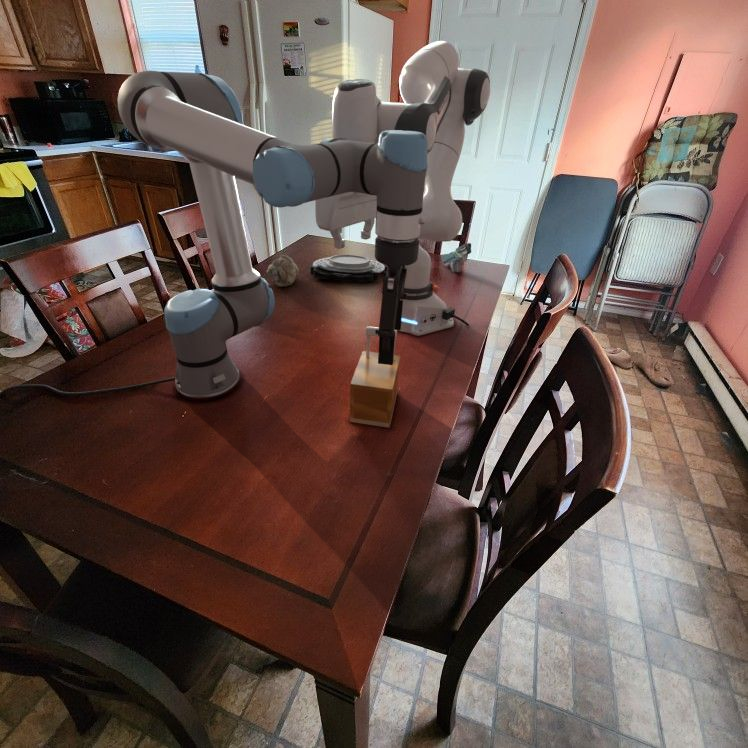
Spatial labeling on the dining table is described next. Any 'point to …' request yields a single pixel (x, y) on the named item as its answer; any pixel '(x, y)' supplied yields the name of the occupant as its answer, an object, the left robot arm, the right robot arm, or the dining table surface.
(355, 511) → the dining table surface
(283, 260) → the lumpy boulder
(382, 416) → the chest
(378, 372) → the lid
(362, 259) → the brake disc
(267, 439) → the dining table surface
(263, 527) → the dining table surface
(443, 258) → the toy gun
